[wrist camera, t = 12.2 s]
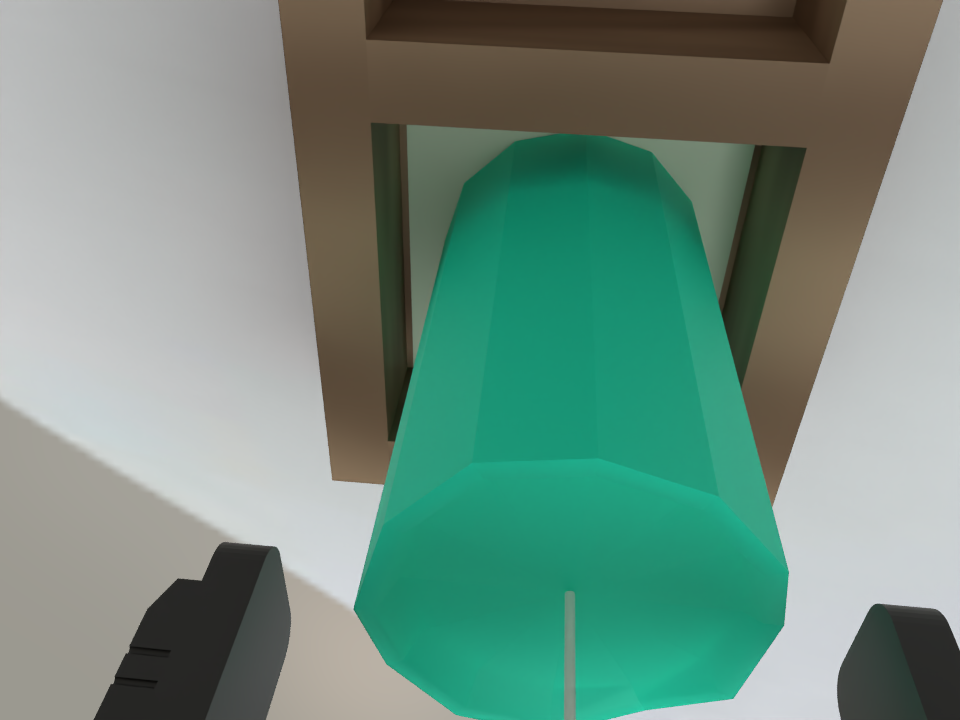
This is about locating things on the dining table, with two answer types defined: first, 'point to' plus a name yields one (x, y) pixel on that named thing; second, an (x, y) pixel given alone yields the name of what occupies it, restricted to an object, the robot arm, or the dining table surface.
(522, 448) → the candle
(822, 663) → the dining table surface
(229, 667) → the robot arm
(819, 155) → the slot rack
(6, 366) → the dining table surface
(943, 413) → the dining table surface
